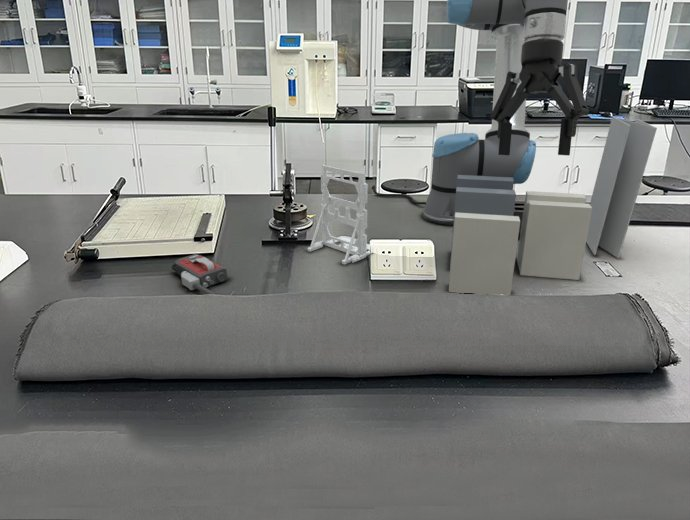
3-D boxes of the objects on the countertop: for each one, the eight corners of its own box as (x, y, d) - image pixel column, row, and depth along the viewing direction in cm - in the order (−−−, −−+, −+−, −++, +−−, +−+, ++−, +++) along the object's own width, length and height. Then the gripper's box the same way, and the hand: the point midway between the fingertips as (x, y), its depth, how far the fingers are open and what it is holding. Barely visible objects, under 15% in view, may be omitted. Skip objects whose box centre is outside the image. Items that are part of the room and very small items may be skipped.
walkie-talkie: (162, 274, 115) (212, 305, 102) (160, 256, 114) (209, 284, 100) (199, 263, 121) (249, 291, 108) (196, 245, 119) (248, 271, 106)
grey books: (505, 274, 115) (516, 189, 108) (449, 270, 118) (456, 186, 110) (503, 256, 125) (512, 177, 117) (451, 252, 127) (457, 174, 120)
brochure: (619, 258, 124) (657, 128, 112) (594, 255, 125) (629, 125, 113) (604, 237, 137) (637, 118, 125) (581, 234, 138) (612, 116, 126)
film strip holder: (386, 249, 129) (389, 168, 121) (347, 266, 120) (347, 179, 112) (343, 235, 138) (343, 159, 130) (304, 249, 129) (301, 168, 121)
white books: (579, 280, 113) (592, 205, 106) (520, 275, 115) (530, 202, 109) (571, 263, 121) (584, 194, 114) (516, 259, 123) (526, 190, 117)
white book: (510, 297, 105) (520, 221, 99) (448, 292, 107) (454, 216, 101) (509, 291, 108) (519, 216, 102) (449, 286, 110) (455, 212, 104)
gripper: (478, 49, 109) (470, 154, 113) (595, 25, 89) (581, 154, 93) (501, 54, 113) (493, 155, 117) (617, 33, 94) (603, 156, 97)
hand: (532, 155), depth 105 cm, fingers open, 13 cm apart
